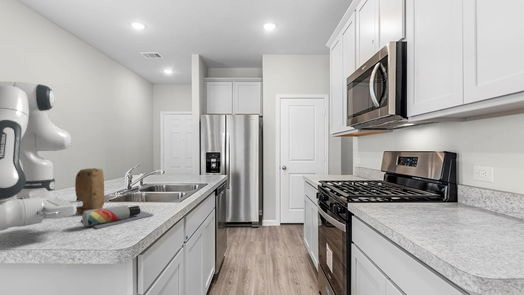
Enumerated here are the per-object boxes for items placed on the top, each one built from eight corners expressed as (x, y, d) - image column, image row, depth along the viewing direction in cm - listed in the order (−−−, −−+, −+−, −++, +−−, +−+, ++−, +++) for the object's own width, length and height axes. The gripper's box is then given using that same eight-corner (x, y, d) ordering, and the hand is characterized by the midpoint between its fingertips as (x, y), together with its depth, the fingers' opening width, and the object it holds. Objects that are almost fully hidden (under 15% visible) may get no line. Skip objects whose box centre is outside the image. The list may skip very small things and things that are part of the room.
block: (106, 210, 121) (105, 168, 121) (92, 215, 114) (92, 169, 114) (86, 209, 123) (86, 168, 123) (72, 213, 116) (71, 169, 116)
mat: (97, 229, 95) (97, 227, 95) (80, 221, 104) (80, 219, 104) (153, 215, 112) (153, 214, 112) (134, 210, 122) (134, 208, 122)
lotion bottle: (86, 223, 93) (143, 213, 108) (84, 208, 95) (140, 201, 110) (83, 228, 97) (138, 218, 111) (81, 214, 99) (135, 206, 113)
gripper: (42, 206, 80) (92, 198, 91) (26, 197, 93) (71, 191, 104) (42, 226, 80) (92, 216, 91) (26, 215, 93) (72, 207, 104)
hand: (81, 203), depth 98 cm, fingers closed
